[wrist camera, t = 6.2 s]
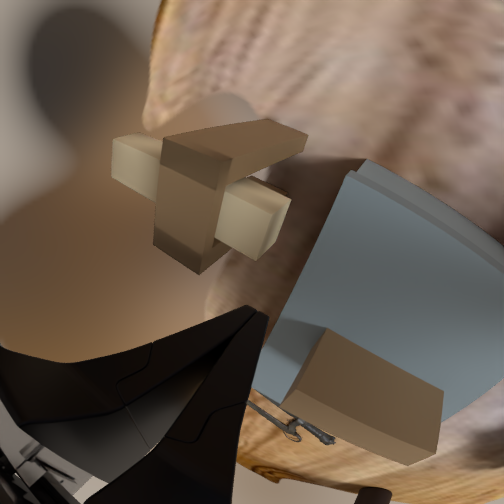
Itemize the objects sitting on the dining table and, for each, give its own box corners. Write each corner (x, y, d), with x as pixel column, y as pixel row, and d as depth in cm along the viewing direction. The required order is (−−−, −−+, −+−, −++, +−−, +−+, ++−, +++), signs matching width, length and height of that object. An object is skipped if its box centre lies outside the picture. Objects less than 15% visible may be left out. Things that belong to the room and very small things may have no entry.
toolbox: (528, 267, 12) (570, 371, 5) (395, 399, 23) (370, 484, 16) (268, 116, 18) (163, 133, 11) (218, 298, 29) (153, 361, 21)
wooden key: (291, 199, 13) (271, 215, 11) (275, 241, 14) (255, 261, 13) (139, 132, 15) (112, 138, 14) (136, 168, 17) (111, 177, 15)
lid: (548, 299, 9) (578, 387, 4) (387, 433, 20) (366, 495, 15) (354, 165, 13) (314, 209, 8) (256, 364, 24) (213, 421, 19)
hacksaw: (341, 437, 31) (338, 446, 30) (300, 448, 38) (297, 455, 37) (197, 333, 35) (190, 340, 34) (181, 362, 41) (175, 368, 40)
